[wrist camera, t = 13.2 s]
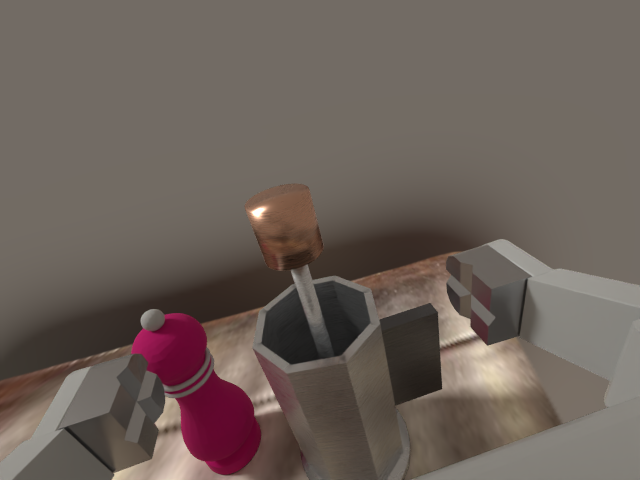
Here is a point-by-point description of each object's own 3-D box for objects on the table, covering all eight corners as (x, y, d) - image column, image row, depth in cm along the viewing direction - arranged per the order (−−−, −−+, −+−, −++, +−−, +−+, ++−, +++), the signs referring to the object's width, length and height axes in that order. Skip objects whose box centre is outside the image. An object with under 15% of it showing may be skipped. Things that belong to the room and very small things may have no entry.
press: (281, 456, 34) (216, 335, 25) (359, 363, 41) (330, 246, 32) (371, 548, 26) (323, 422, 17) (446, 413, 34) (440, 278, 25)
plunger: (310, 441, 32) (210, 212, 20) (347, 395, 36) (281, 174, 23) (357, 483, 28) (269, 230, 16) (394, 427, 32) (346, 181, 19)
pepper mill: (225, 497, 31) (116, 364, 22) (191, 451, 36) (89, 324, 26) (278, 435, 36) (207, 299, 26) (241, 401, 40) (170, 275, 31)
